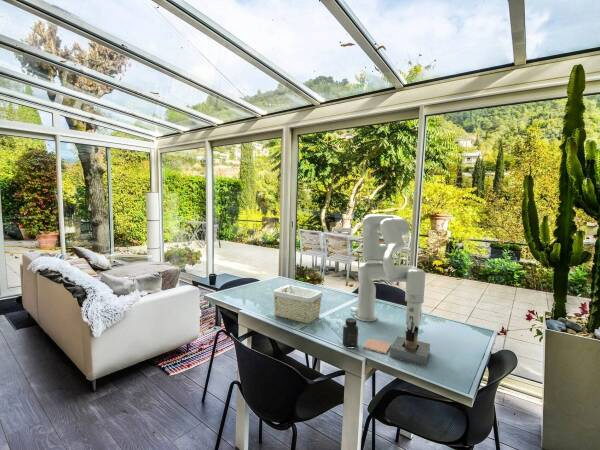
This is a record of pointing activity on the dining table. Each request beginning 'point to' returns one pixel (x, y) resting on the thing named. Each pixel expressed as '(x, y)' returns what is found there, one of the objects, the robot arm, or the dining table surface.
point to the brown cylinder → (412, 344)
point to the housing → (410, 351)
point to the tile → (377, 346)
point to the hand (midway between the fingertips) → (412, 336)
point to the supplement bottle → (350, 333)
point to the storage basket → (297, 303)
